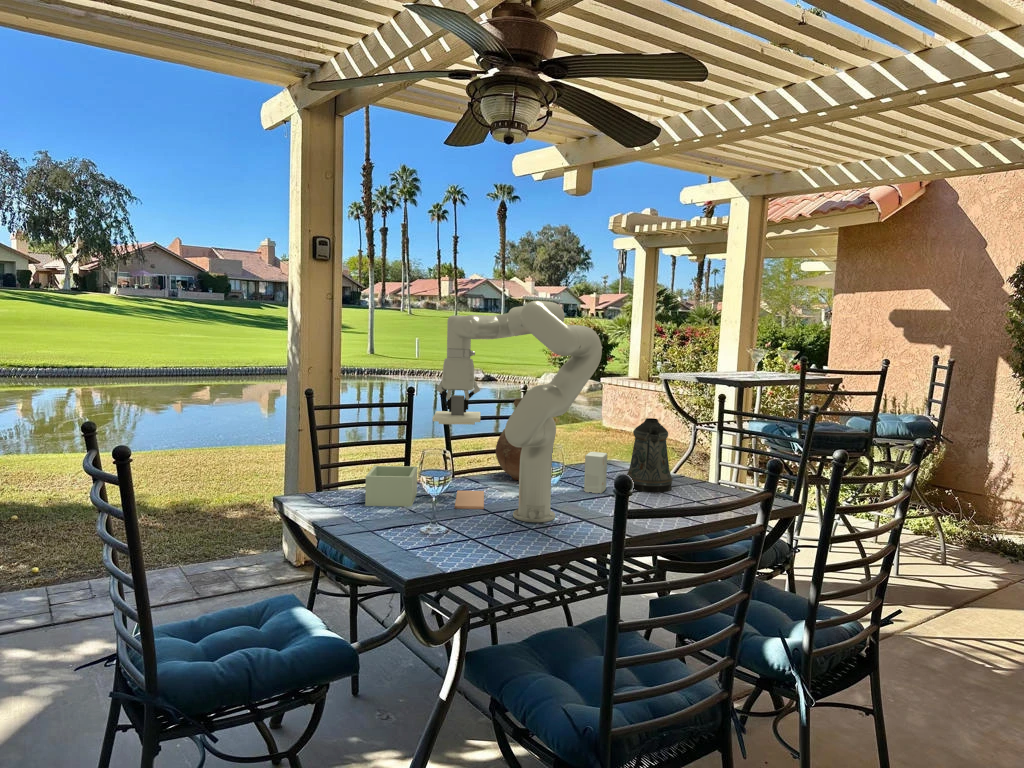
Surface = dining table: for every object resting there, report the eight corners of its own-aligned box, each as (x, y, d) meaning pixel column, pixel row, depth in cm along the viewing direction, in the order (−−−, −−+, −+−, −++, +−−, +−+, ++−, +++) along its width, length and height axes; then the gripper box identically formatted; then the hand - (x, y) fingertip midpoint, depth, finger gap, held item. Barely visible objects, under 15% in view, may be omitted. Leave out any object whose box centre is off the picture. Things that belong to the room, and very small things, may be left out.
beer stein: (654, 481, 257) (657, 415, 254) (686, 493, 239) (690, 422, 237) (616, 483, 250) (619, 416, 248) (646, 496, 232) (649, 423, 230)
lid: (480, 425, 210) (480, 399, 209) (432, 424, 209) (433, 398, 208) (480, 418, 226) (480, 393, 225) (436, 417, 225) (436, 393, 225)
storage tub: (411, 509, 207) (412, 477, 206) (365, 508, 207) (365, 476, 206) (416, 496, 223) (417, 466, 222) (373, 495, 222) (374, 465, 222)
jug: (484, 475, 257) (486, 397, 255) (529, 470, 270) (531, 395, 267) (517, 487, 239) (520, 403, 237) (564, 481, 252) (567, 400, 250)
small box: (588, 487, 243) (590, 451, 242) (606, 489, 241) (607, 452, 240) (583, 492, 236) (584, 455, 235) (601, 494, 234) (602, 456, 233)
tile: (483, 509, 210) (483, 506, 210) (425, 508, 209) (425, 505, 209) (483, 493, 230) (483, 490, 230) (430, 492, 229) (430, 490, 229)
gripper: (485, 354, 220) (483, 411, 221) (433, 353, 219) (432, 410, 221) (485, 355, 212) (483, 413, 214) (431, 354, 212) (430, 412, 213)
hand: (457, 411), depth 217 cm, fingers closed on lid, 4 cm apart
